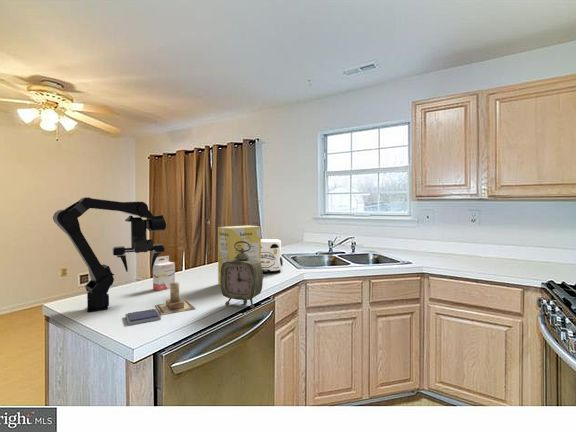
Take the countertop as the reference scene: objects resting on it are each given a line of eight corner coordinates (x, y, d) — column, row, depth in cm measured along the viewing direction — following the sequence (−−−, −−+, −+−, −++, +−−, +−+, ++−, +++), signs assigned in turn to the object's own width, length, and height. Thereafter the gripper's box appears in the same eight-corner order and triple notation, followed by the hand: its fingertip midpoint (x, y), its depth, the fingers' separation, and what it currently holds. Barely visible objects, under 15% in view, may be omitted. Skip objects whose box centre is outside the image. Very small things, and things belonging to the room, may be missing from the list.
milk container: (260, 275, 174) (260, 243, 173) (248, 270, 189) (248, 239, 188) (288, 272, 182) (288, 241, 182) (274, 267, 198) (274, 238, 197)
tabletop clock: (220, 306, 121) (220, 241, 120) (232, 299, 130) (231, 239, 129) (255, 310, 117) (254, 243, 116) (264, 303, 125) (264, 240, 124)
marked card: (161, 315, 112) (161, 313, 112) (155, 305, 122) (155, 304, 122) (195, 309, 119) (195, 308, 119) (187, 300, 129) (187, 299, 129)
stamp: (170, 310, 116) (169, 286, 116) (166, 305, 122) (165, 282, 122) (184, 308, 119) (183, 284, 118) (179, 303, 125) (179, 280, 124)
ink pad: (128, 325, 103) (127, 321, 102) (125, 316, 110) (125, 312, 110) (160, 319, 108) (160, 315, 108) (156, 311, 115) (156, 308, 115)
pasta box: (248, 278, 168) (248, 225, 167) (260, 281, 161) (260, 226, 160) (218, 284, 156) (217, 227, 155) (230, 288, 148) (230, 228, 147)
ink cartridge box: (159, 291, 143) (158, 258, 142) (152, 289, 146) (152, 257, 145) (175, 287, 150) (175, 256, 149) (169, 285, 153) (168, 255, 152)
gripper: (114, 235, 118) (114, 277, 118) (167, 232, 128) (167, 271, 128) (112, 232, 127) (113, 271, 128) (161, 230, 137) (162, 266, 138)
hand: (139, 270), depth 130 cm, fingers open, 9 cm apart
